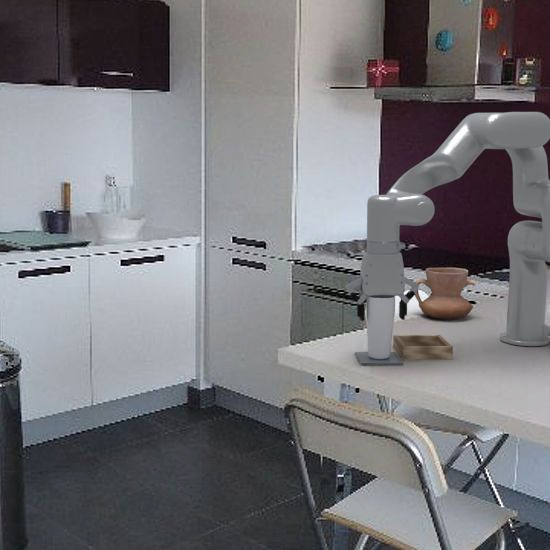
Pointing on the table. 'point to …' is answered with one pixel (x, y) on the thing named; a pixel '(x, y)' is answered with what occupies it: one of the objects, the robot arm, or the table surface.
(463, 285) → the ceramic jug
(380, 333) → the drinking glass
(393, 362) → the slate coaster
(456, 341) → the table surface
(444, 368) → the table surface
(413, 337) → the oak collar
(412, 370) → the table surface
